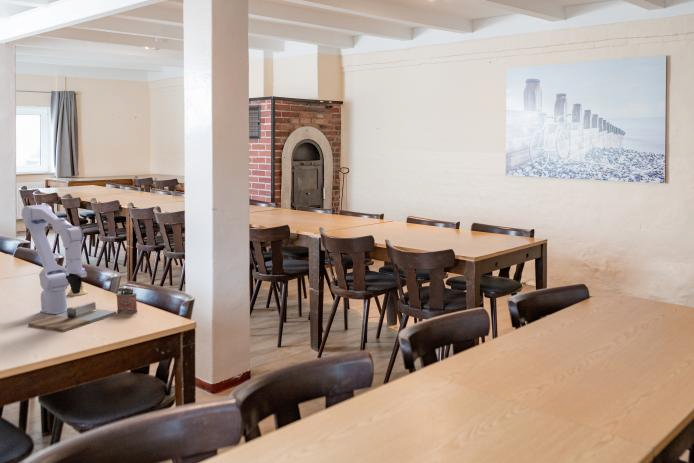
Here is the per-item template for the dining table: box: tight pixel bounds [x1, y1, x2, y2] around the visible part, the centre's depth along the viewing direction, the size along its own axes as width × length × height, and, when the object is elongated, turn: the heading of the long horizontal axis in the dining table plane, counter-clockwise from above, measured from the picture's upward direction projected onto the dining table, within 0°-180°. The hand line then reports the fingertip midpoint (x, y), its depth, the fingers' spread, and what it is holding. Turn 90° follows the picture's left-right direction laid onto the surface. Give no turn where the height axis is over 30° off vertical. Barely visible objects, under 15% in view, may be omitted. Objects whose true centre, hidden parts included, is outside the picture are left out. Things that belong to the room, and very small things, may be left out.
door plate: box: [54, 308, 117, 324], centre depth 268 cm, size 18×14×1 cm
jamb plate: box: [27, 315, 90, 333], centre depth 256 cm, size 18×12×1 cm, turn 65°
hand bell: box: [67, 282, 88, 297], centre depth 305 cm, size 8×8×16 cm
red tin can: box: [115, 286, 138, 314], centre depth 273 cm, size 8×3×10 cm, turn 84°
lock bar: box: [66, 301, 97, 318], centre depth 266 cm, size 13×3×3 cm, turn 154°
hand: (76, 293), depth 266 cm, fingers closed
